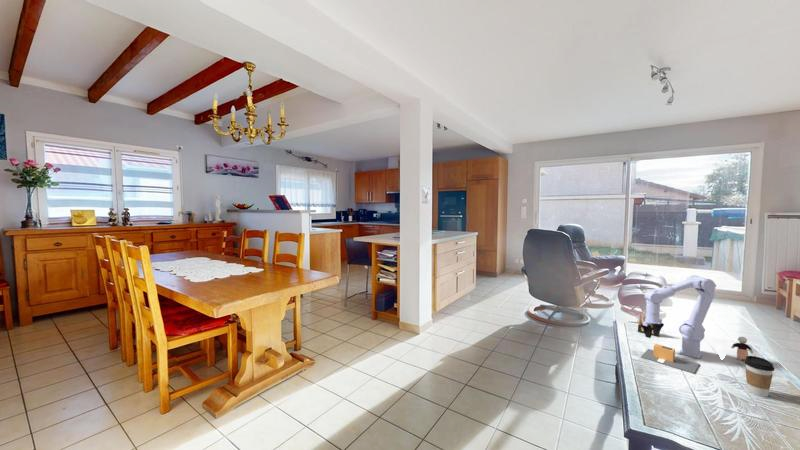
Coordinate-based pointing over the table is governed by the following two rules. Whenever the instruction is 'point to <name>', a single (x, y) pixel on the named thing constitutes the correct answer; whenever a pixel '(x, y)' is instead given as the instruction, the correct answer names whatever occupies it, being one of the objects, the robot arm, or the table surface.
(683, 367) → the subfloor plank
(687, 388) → the table surface
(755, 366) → the coffee cup
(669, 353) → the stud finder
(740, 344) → the grandmother figurine
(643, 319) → the ammunition clip
